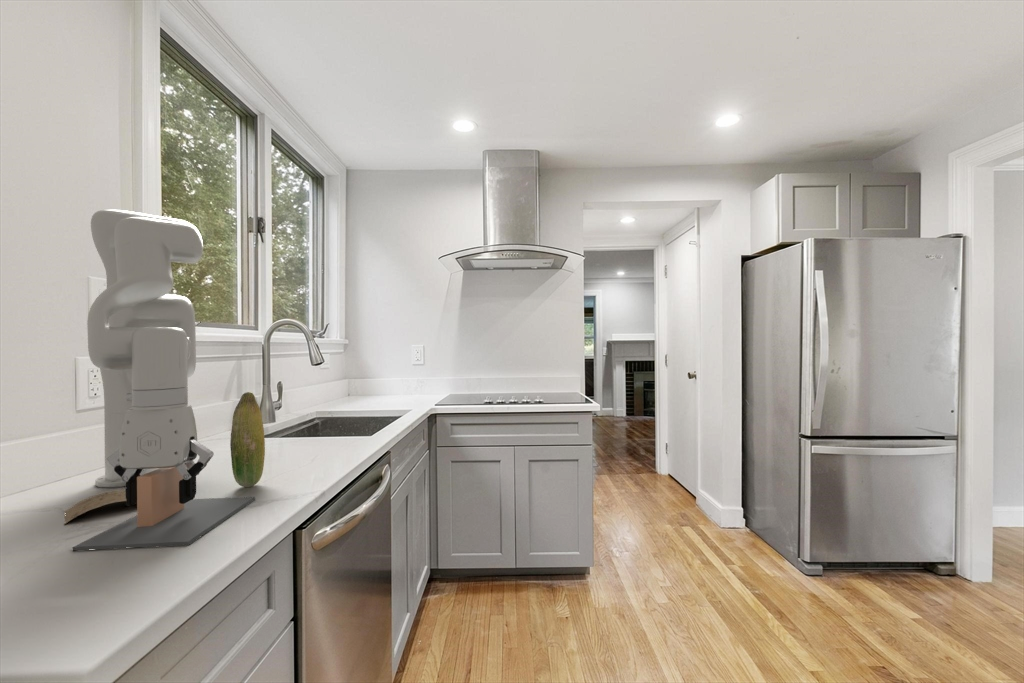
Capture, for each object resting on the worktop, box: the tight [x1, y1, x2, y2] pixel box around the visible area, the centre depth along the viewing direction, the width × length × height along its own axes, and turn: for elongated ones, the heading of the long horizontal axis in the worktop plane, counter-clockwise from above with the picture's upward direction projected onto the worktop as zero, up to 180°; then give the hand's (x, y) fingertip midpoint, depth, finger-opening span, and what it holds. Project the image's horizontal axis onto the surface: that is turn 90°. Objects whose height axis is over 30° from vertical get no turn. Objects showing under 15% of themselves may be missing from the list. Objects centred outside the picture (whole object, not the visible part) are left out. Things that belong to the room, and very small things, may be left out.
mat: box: [71, 496, 256, 551], centre depth 76 cm, size 20×16×1 cm
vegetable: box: [229, 391, 266, 488], centre depth 94 cm, size 6×6×20 cm
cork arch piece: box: [63, 489, 127, 526], centre depth 83 cm, size 14×10×3 cm
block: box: [136, 467, 184, 527], centre depth 76 cm, size 8×2×8 cm, turn 5°
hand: (161, 501), depth 76 cm, fingers open, 7 cm apart
